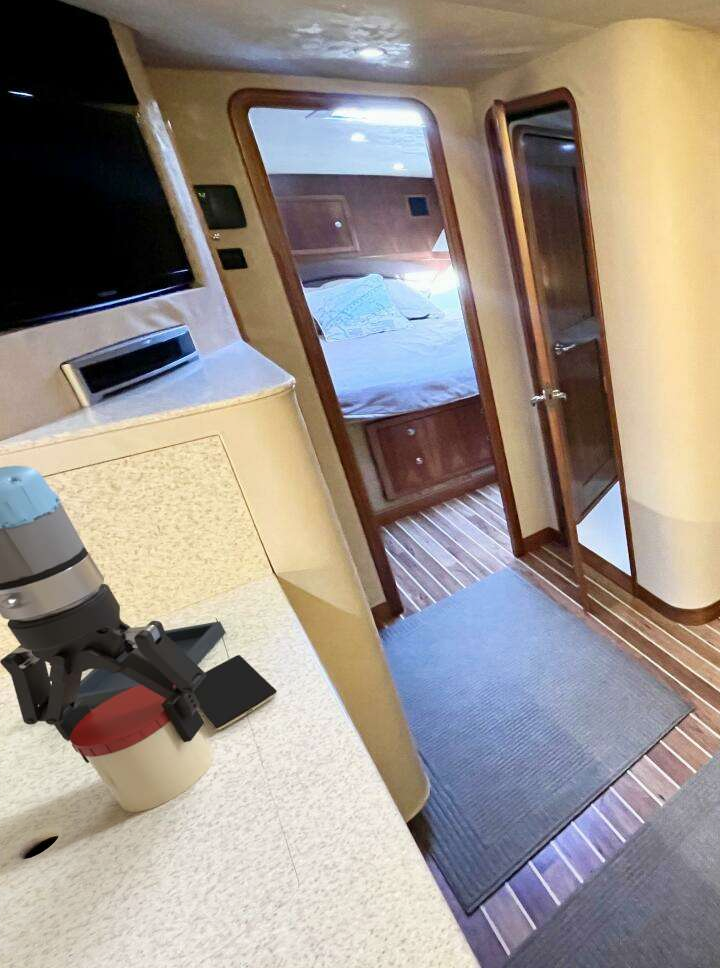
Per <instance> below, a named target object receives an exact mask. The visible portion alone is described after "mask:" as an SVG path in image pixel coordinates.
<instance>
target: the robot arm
mask: <svg viewBox="0 0 720 968" xmlns="http://www.w3.org/2000/svg"><path fill="white" fill-rule="evenodd" d="M104 582H105V577H104V575H103V574H102V572H101V570H100V569H99V567H98V565H97V564H96V562H95V561H94V559H93V557H92V556H91V554H90V552H89V551H88V550H87V548H86V547H85V544H84V542H83V540H82V538H81V537H80V535H79V533H78V531H77V529H76V528H75V526H74V525H73V522H72V521H71V519H70V517H69V514H68V513H67V512H66V510H65V508H64V506H63V504H62V503H61V499H60V496H59V495H58V494H57V493H56V492H55V491H53V490H52V488H51V487H50V486H49V484H48V482H47V481H46V479H45V478H44V477H43V475H42V474H41V473H40V471H39V470H37V469H36V468H33V467H29V466H25V465H8V466H1V467H0V616H1V618H3V619H4V620H8V621H7V627H8V629H9V630H10V631H11V633H12V635H13V636H14V638H15V639H16V641H18V643H19V644H20V645H19V646H17V647H16V648H15V649H13V650H12V651H11V652H9V653H8V654H7V655H5V656H4V657H3V658H2V659H0V664H1V666H2V667H3V668H4V669H5V670H6V671H7V673H9V674H10V676H11V680H12V684H13V687H14V691H15V696H16V699H17V703H18V707H19V709H20V713H21V717H22V721H23V723H25V724H26V725H30V726H33V725H36V724H37V723H39V722H45V723H46V724H48V725H50V726H54V727H55V729H56V730H57V731H58V733H59V734H60V735H61V737H62V738H63V739H64V740H65V741H67V742H69V741H70V735H71V733H72V731H73V729H74V728H75V726H76V725H77V724H78V723H79V722H80V721H81V720H82V719H83V718H84V717H85V716H86V715H87V714H88V713H90V712H91V711H92V709H89V707H88V706H87V705H83V706H79V707H78V708H77V709H76V710H74V707H75V706H77V705H78V704H79V703H80V702H81V700H80V701H79V702H77V701H78V700H77V699H78V693H79V688H80V683H81V680H82V678H83V672H85V671H88V670H93V669H101V668H104V669H105V670H107V671H109V672H111V673H118V672H120V673H122V674H123V675H125V676H127V677H129V678H130V679H132V680H134V681H136V682H137V683H139V684H141V685H143V686H144V687H146V688H148V689H150V690H151V691H153V692H155V693H157V694H158V695H160V696H162V697H164V698H165V699H166V700H165V701H164V703H163V704H162V707H163V709H164V710H165V712H166V714H167V715H168V717H169V719H170V720H171V722H172V724H173V725H174V727H175V729H176V730H177V732H178V734H179V735H180V737H181V739H182V740H183V742H188V741H191V740H192V739H193V737H194V736H195V735H196V733H197V732H198V731H199V729H200V728H201V729H202V727H203V725H204V724H205V722H204V719H203V718H202V716H201V714H200V712H199V711H198V710H199V708H198V707H199V701H198V700H197V698H196V696H195V694H194V692H193V691H194V690H195V689H196V687H197V686H198V685H199V684H200V683H201V681H202V680H203V679H204V678H205V676H206V674H205V672H206V671H203V669H202V668H201V667H200V666H199V665H196V664H195V663H194V662H193V661H192V660H191V659H190V658H189V657H188V656H187V655H186V654H185V653H184V652H183V651H182V650H181V649H180V648H179V647H178V646H177V645H176V644H175V643H174V642H173V641H172V640H171V639H170V638H169V637H168V636H167V635H166V633H165V631H166V630H165V628H164V626H163V624H162V622H161V621H159V620H151V621H149V623H148V624H146V625H143V626H136V627H131V626H130V624H129V625H128V624H127V623H125V622H124V621H123V620H122V619H121V616H120V615H121V606H120V604H119V602H118V600H117V598H116V596H115V595H114V593H113V592H112V590H111V588H110V587H109V585H108V584H106V583H104ZM124 651H126V653H127V654H126V655H125V656H124V657H123V658H122V659H121V660H120V661H117V659H118V658H119V657H120V656H121V655H122V654H123V653H124ZM47 663H48V664H49V666H50V669H49V671H48V667H47ZM174 685H175V687H174V688H173V686H174ZM70 742H71V741H70ZM80 756H81V757H82V759H83V760H84V762H85V763H86V764H88V763H89V764H90V762H89V761H88V759H87V758H86V756H82V755H81V754H80Z"/></svg>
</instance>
